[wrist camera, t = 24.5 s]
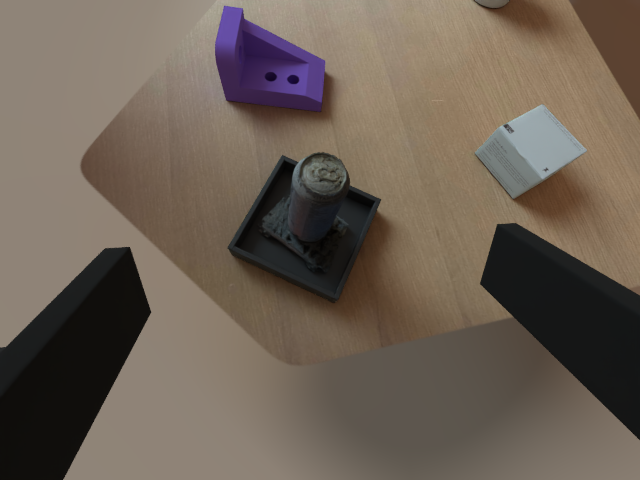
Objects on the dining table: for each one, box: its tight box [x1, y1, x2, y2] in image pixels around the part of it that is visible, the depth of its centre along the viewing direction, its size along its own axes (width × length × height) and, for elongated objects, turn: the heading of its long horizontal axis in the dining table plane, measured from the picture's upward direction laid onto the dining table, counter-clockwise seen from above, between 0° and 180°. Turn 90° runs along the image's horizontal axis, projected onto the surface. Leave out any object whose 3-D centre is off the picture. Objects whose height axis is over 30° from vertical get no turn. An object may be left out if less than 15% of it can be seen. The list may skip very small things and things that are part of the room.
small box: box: [475, 104, 587, 199], centre depth 37 cm, size 8×8×5 cm
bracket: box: [215, 6, 325, 112], centre depth 37 cm, size 12×7×7 cm, turn 86°
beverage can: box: [257, 152, 350, 274], centre depth 28 cm, size 9×8×12 cm
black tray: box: [228, 155, 381, 303], centre depth 33 cm, size 12×12×3 cm
